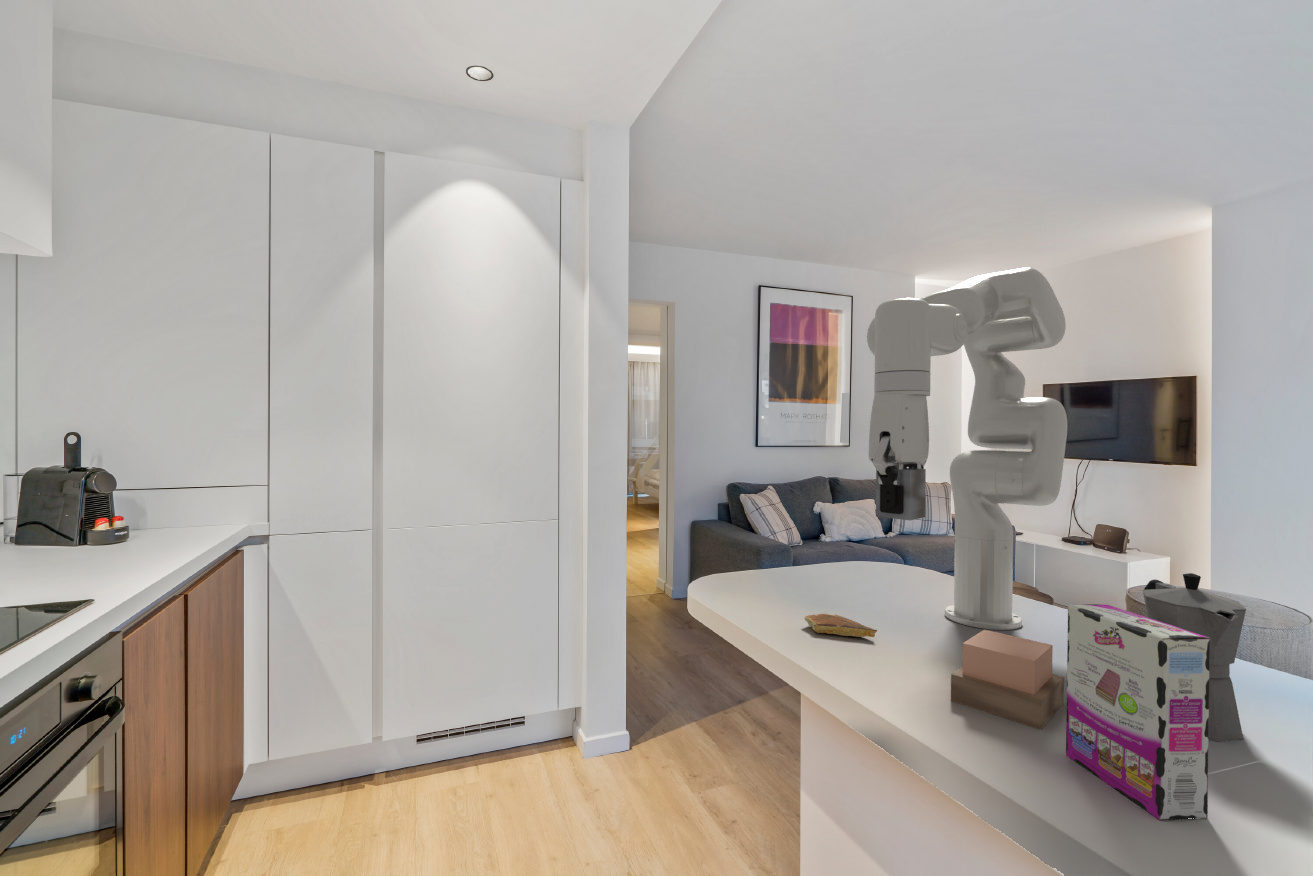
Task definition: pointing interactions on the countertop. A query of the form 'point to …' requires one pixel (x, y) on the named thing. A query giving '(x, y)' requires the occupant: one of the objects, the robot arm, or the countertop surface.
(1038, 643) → the tower top
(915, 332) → the robot arm
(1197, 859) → the countertop surface
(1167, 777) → the candy bar box
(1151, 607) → the coffeepot
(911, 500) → the grey block
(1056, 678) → the tower base
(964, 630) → the countertop surface
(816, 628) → the flatbread slice
